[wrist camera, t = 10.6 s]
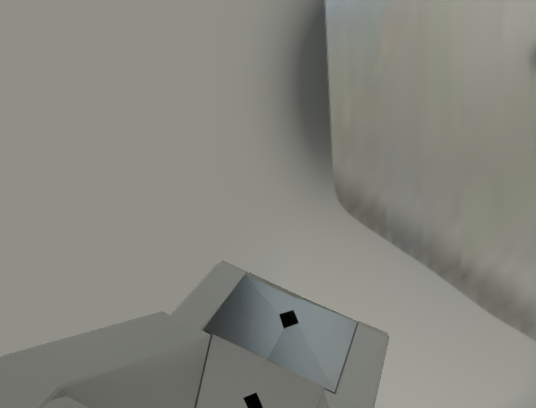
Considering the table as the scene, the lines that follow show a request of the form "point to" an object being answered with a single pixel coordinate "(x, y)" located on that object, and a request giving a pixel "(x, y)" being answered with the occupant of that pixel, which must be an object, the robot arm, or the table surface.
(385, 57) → the table surface
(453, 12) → the table surface
